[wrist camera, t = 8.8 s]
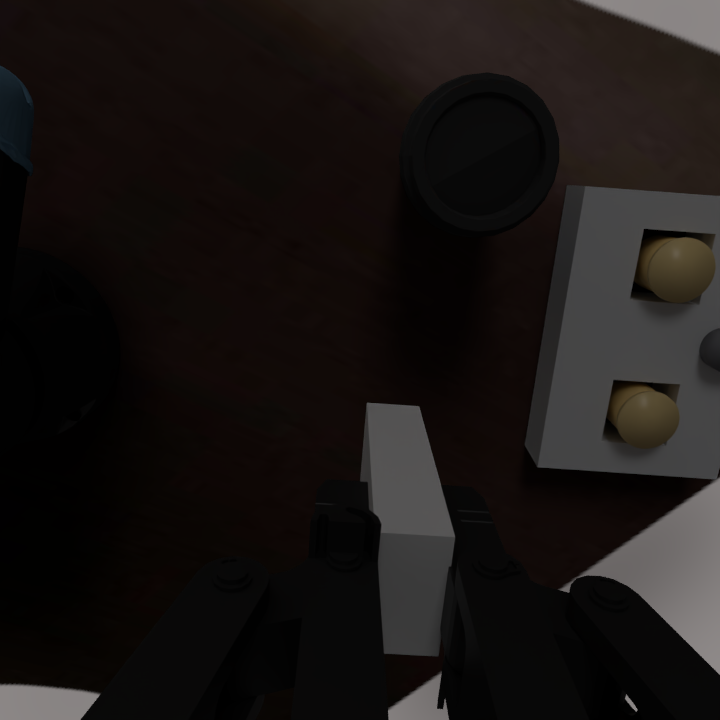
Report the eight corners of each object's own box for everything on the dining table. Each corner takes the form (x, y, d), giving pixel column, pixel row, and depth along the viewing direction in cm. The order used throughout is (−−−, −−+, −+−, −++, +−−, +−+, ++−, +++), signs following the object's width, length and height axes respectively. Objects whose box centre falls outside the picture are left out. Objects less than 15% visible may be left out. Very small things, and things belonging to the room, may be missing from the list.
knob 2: (594, 425, 50) (613, 446, 46) (604, 373, 48) (624, 390, 44) (648, 429, 50) (672, 450, 46) (660, 377, 48) (685, 395, 45)
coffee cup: (522, 185, 46) (594, 192, 31) (421, 240, 47) (446, 270, 33) (474, 77, 44) (527, 31, 29) (369, 137, 45) (371, 121, 30)
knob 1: (620, 289, 46) (643, 300, 43) (632, 230, 45) (657, 235, 41) (678, 293, 46) (707, 305, 43) (692, 234, 45) (722, 240, 41)
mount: (524, 445, 52) (543, 478, 46) (567, 185, 46) (594, 187, 40) (690, 456, 52) (729, 490, 46) (754, 198, 46) (808, 202, 40)
